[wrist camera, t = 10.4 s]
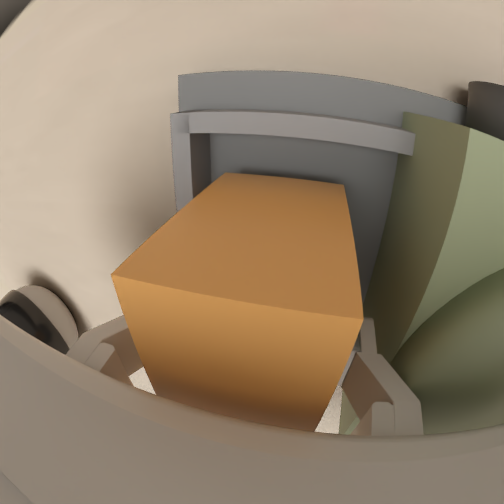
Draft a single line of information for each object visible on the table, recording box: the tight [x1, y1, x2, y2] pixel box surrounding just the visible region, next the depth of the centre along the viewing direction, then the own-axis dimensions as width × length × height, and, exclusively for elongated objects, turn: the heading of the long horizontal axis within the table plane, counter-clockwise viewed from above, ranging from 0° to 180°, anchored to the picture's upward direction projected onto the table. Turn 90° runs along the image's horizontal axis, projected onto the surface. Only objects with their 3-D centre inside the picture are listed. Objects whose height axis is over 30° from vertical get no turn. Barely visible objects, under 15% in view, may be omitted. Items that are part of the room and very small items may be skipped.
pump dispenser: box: [0, 285, 78, 355], centre depth 19 cm, size 10×10×15 cm
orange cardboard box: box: [111, 172, 364, 432], centre depth 10 cm, size 4×8×7 cm, turn 179°
